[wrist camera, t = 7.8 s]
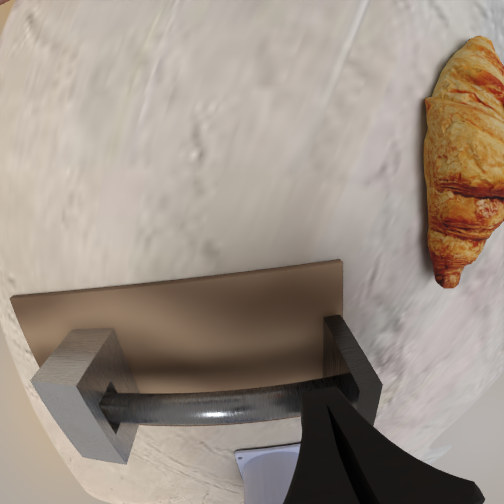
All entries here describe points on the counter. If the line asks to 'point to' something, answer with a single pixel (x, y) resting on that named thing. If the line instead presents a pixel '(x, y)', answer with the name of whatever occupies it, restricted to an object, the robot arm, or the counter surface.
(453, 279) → the croissant
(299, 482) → the robot arm
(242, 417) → the shaft
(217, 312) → the board
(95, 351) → the bearing block
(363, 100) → the counter surface
